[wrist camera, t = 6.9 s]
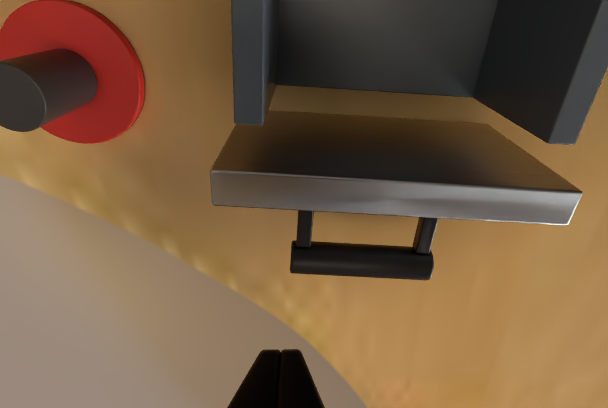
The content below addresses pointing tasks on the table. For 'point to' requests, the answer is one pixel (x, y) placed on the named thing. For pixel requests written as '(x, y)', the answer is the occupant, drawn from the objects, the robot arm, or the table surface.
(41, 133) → the table surface
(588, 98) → the drawer
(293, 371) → the robot arm
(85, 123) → the red lid
